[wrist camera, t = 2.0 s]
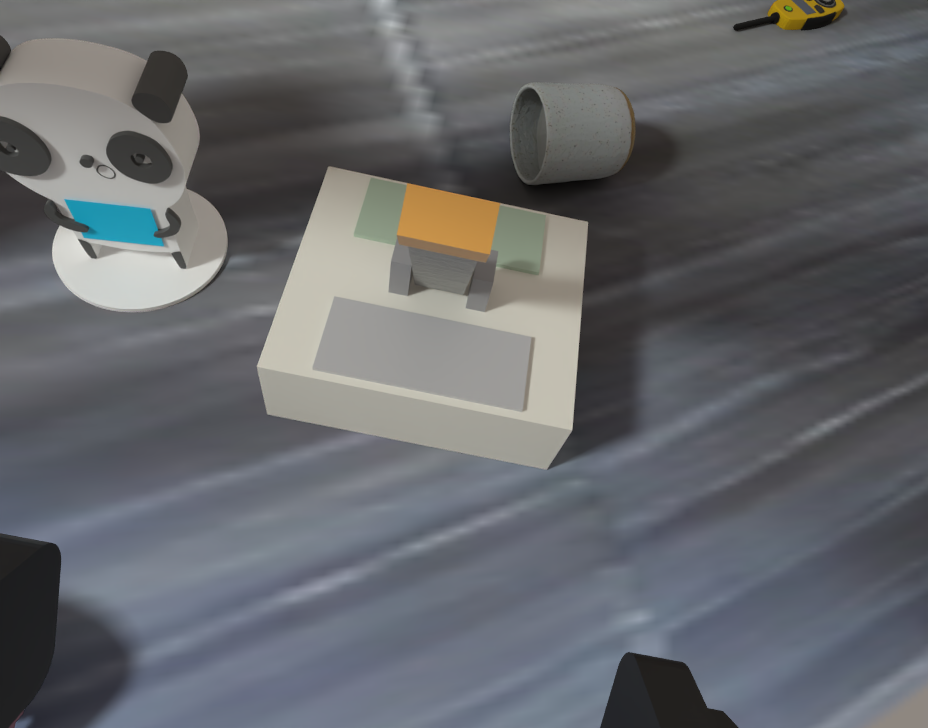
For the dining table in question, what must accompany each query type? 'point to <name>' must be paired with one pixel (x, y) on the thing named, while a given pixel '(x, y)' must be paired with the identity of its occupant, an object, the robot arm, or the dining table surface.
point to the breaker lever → (445, 236)
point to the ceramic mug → (570, 132)
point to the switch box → (429, 331)
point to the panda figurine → (111, 169)
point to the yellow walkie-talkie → (799, 14)
